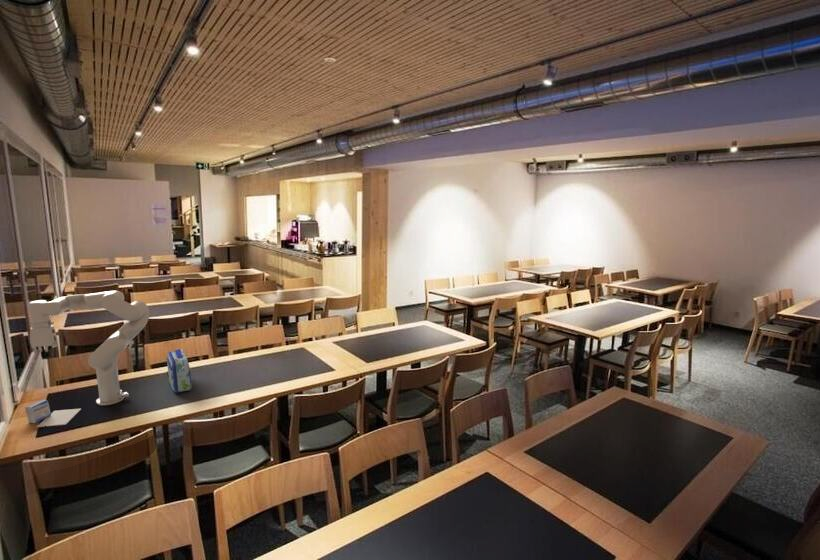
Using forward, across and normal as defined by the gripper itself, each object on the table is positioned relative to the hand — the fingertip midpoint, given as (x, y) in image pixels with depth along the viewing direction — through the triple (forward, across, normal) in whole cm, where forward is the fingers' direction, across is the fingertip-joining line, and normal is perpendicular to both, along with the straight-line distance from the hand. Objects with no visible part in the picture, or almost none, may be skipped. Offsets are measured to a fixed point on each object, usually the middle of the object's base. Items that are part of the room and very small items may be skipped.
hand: (46, 358), depth 223 cm
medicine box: (+27, -1, +14) cm, 31 cm away
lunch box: (+27, -58, -14) cm, 66 cm away
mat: (+27, -10, +14) cm, 32 cm away
